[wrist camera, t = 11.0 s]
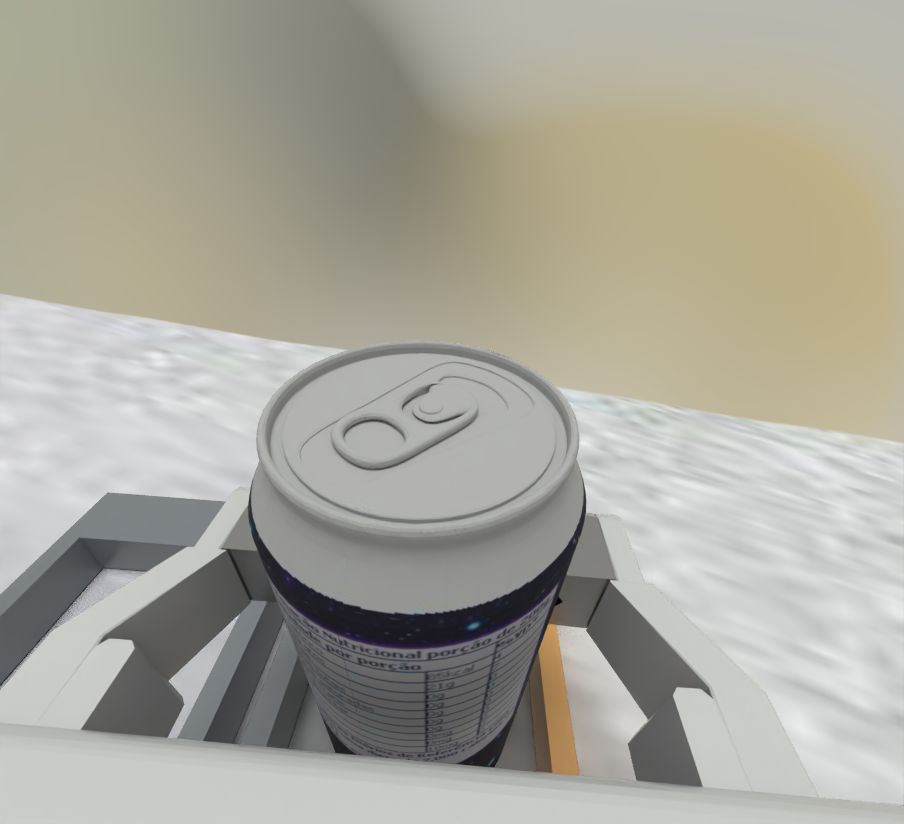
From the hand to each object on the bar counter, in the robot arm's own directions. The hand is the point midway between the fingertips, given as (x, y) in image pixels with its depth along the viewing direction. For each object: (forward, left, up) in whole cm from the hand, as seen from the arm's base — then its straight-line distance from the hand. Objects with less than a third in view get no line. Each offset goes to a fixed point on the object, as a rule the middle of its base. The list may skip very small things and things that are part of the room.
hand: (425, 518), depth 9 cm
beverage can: (0, -1, -8) cm, 8 cm away
